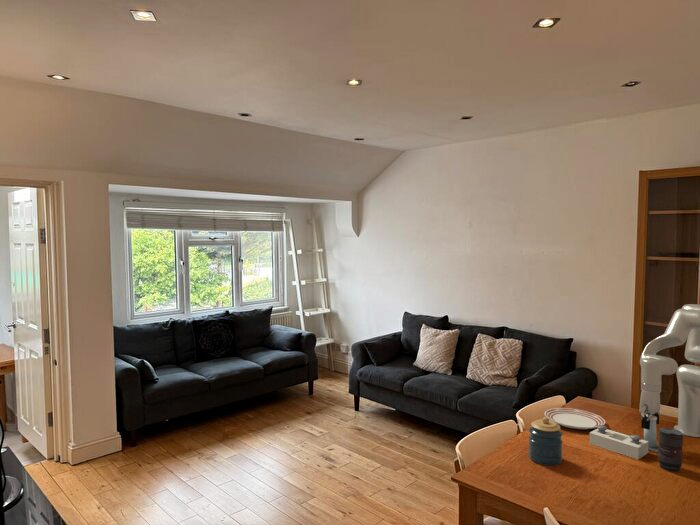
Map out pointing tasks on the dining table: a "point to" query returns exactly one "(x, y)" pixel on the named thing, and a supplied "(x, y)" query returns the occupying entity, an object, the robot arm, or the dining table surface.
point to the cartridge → (651, 432)
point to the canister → (545, 442)
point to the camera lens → (670, 449)
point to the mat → (654, 449)
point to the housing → (619, 443)
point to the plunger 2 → (635, 439)
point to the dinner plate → (574, 418)
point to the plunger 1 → (601, 428)
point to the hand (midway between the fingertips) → (650, 425)
